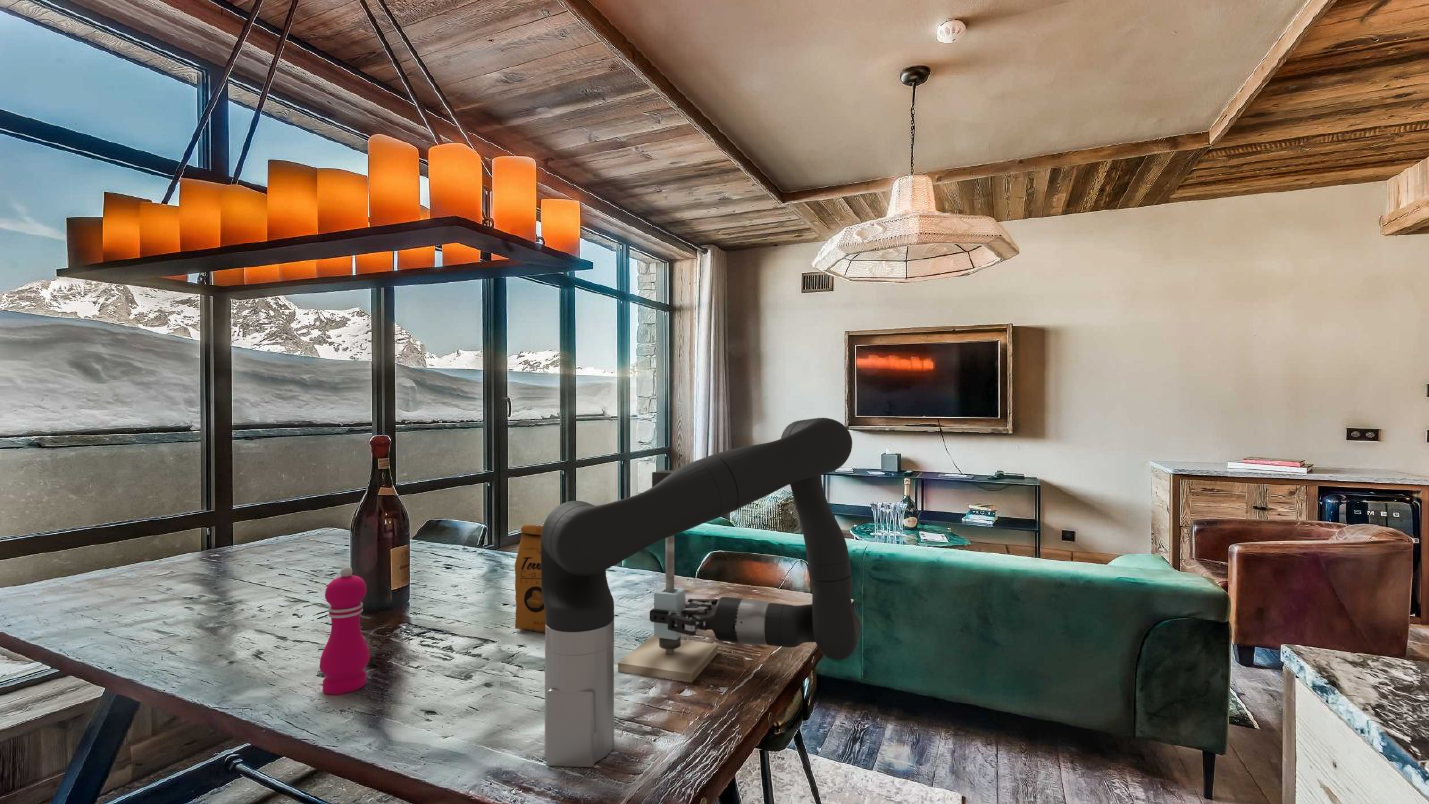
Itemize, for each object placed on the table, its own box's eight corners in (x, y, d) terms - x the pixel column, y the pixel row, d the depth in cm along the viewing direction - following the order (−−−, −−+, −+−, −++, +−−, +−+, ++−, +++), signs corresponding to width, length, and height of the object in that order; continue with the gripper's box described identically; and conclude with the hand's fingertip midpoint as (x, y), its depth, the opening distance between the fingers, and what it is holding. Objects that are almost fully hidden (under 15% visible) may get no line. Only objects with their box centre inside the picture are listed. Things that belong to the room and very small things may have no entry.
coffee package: (559, 639, 123) (560, 530, 124) (507, 633, 127) (508, 527, 127) (584, 623, 133) (584, 522, 133) (535, 618, 136) (535, 520, 137)
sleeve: (685, 631, 113) (685, 588, 113) (676, 639, 109) (676, 595, 109) (663, 629, 115) (663, 586, 115) (654, 637, 111) (654, 592, 111)
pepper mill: (359, 673, 107) (361, 559, 107) (376, 685, 102) (378, 566, 103) (312, 688, 101) (314, 567, 102) (328, 700, 97) (330, 574, 97)
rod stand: (718, 652, 116) (717, 469, 117) (691, 682, 103) (691, 476, 104) (651, 643, 121) (651, 467, 122) (618, 671, 107) (618, 473, 108)
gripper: (754, 588, 114) (671, 580, 120) (732, 611, 101) (639, 601, 106) (755, 628, 114) (671, 619, 120) (732, 657, 100) (639, 644, 106)
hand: (656, 611), depth 113 cm, fingers closed on sleeve, 4 cm apart
